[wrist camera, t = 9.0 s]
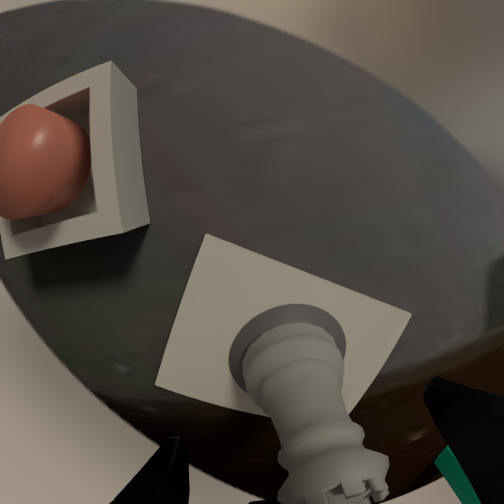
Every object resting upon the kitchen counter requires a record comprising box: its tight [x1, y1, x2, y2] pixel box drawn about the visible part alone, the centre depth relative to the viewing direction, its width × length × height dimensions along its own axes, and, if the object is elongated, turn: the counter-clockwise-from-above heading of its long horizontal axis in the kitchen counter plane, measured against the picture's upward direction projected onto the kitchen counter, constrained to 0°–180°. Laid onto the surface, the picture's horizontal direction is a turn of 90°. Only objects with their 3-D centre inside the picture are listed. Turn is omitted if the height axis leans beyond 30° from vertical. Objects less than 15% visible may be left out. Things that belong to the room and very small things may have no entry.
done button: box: [0, 104, 91, 220], centre depth 6 cm, size 4×4×2 cm
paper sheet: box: [155, 234, 412, 417], centre depth 12 cm, size 11×8×1 cm
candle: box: [434, 446, 481, 504], centre depth 12 cm, size 6×6×12 cm
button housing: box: [0, 61, 150, 259], centre depth 8 cm, size 6×6×3 cm
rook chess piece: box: [242, 323, 389, 504], centre depth 8 cm, size 4×4×8 cm
